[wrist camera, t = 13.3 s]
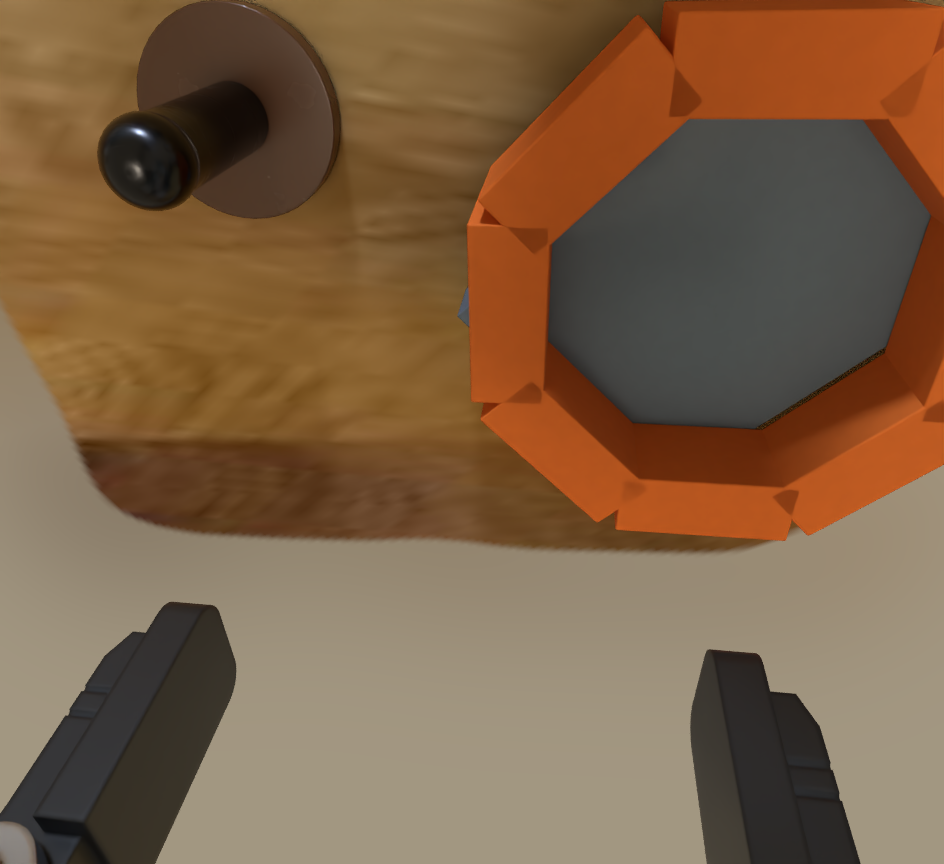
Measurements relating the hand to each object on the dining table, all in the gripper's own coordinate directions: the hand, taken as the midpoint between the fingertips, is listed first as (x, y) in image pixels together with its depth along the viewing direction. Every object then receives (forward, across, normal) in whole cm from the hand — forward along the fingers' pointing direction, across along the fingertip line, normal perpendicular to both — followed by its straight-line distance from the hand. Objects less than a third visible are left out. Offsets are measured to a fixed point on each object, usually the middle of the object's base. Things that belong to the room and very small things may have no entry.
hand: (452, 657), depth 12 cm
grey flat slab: (+19, -7, 0) cm, 20 cm away
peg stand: (+19, +10, -5) cm, 22 cm away
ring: (+16, -7, 0) cm, 18 cm away
